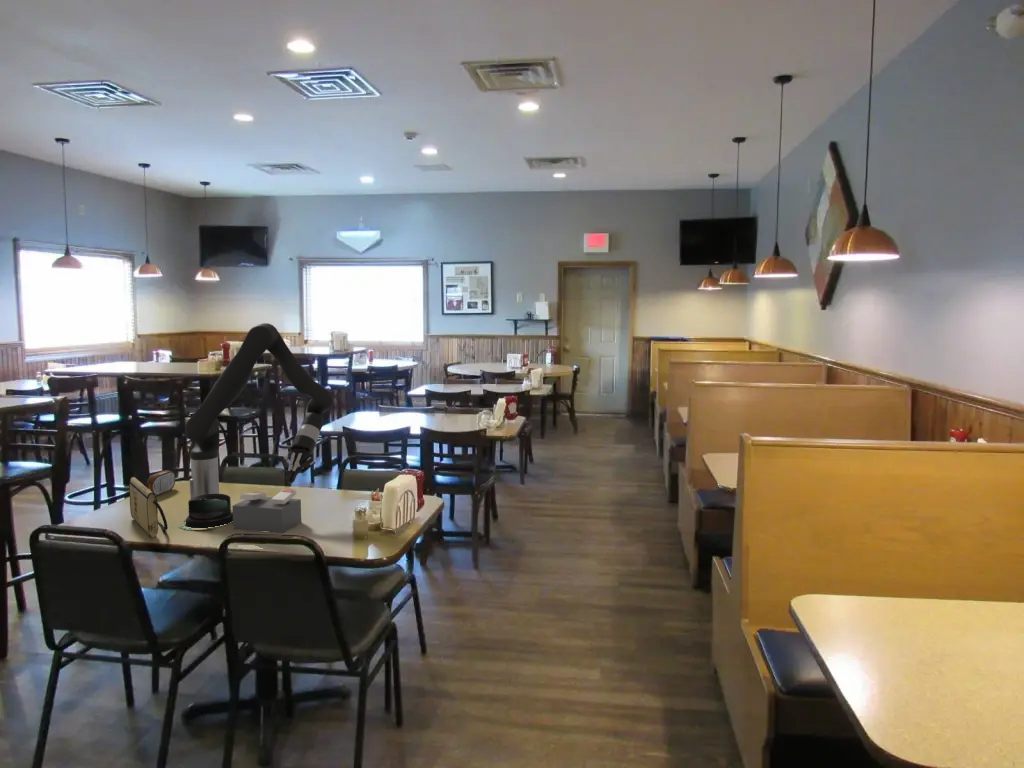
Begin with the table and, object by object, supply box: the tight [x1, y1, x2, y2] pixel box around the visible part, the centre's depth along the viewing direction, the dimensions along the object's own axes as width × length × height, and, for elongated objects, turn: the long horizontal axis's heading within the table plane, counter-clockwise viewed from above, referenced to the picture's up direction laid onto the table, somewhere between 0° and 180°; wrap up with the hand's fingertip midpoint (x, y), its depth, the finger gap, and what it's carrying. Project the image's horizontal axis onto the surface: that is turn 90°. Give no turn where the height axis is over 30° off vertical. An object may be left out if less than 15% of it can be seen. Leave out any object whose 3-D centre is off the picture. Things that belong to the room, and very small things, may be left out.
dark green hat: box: [178, 493, 233, 531], centre depth 237 cm, size 20×20×9 cm
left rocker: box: [239, 491, 267, 500], centre depth 232 cm, size 8×4×2 cm, turn 167°
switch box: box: [231, 496, 302, 534], centre depth 232 cm, size 12×18×9 cm, turn 77°
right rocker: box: [271, 488, 297, 504], centre depth 232 cm, size 8×4×2 cm, turn 167°
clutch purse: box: [128, 476, 169, 538], centre depth 231 cm, size 30×7×15 cm, turn 40°
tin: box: [145, 469, 176, 497], centre depth 272 cm, size 15×3×8 cm, turn 172°
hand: (288, 482), depth 234 cm, fingers closed
